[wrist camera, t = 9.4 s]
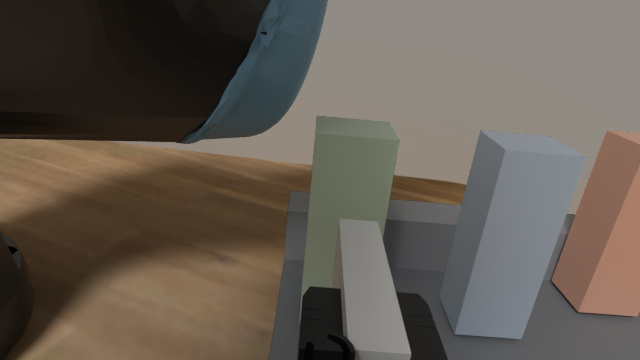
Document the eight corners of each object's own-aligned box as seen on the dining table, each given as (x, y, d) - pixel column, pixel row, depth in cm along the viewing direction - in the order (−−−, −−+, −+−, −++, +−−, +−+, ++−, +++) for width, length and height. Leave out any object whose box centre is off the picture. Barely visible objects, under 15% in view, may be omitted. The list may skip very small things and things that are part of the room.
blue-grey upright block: (454, 334, 21) (505, 149, 17) (439, 296, 24) (480, 130, 20) (521, 339, 21) (587, 156, 17) (498, 301, 24) (550, 136, 20)
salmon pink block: (578, 311, 24) (646, 147, 20) (551, 280, 26) (607, 130, 22) (637, 316, 24) (717, 153, 20) (604, 284, 26) (668, 136, 23)
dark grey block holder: (259, 440, 17) (263, 348, 15) (286, 253, 30) (291, 190, 28) (775, 475, 17) (843, 390, 16) (582, 276, 30) (606, 217, 28)
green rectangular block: (299, 322, 21) (315, 132, 17) (301, 285, 24) (316, 115, 20) (367, 327, 21) (399, 140, 17) (362, 290, 24) (388, 122, 20)
